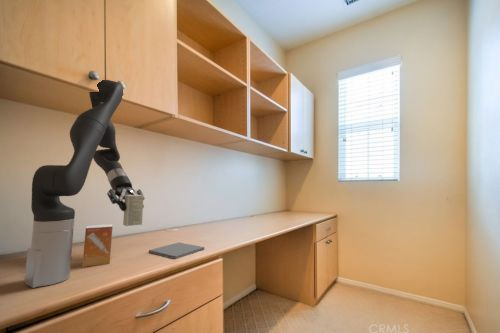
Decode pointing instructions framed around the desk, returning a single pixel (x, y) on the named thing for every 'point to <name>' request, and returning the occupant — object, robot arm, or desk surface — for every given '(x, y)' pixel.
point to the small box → (97, 245)
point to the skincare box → (133, 210)
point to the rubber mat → (176, 250)
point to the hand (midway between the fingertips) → (133, 209)
